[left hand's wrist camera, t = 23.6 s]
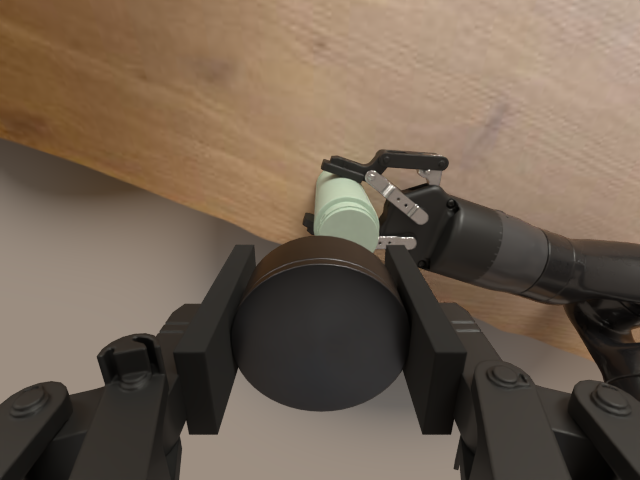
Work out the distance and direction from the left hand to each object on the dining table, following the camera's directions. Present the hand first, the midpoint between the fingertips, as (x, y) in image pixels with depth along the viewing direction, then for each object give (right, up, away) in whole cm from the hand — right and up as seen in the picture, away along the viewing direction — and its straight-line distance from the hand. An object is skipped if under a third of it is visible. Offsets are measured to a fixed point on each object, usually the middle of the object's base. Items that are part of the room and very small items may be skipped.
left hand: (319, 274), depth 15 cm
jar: (+2, +7, +23) cm, 24 cm away
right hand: (-1, +6, +17) cm, 18 cm away
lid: (0, -2, -4) cm, 4 cm away
